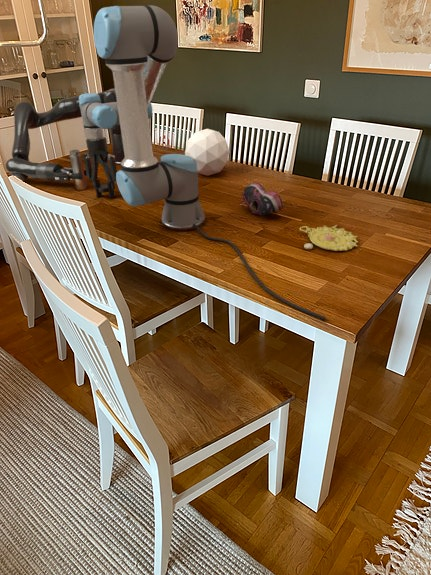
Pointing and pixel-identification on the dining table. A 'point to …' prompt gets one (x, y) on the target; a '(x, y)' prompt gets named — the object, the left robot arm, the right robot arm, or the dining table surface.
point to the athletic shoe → (261, 200)
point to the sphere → (208, 151)
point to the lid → (103, 188)
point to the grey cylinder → (78, 169)
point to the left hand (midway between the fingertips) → (84, 175)
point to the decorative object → (330, 238)
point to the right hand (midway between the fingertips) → (105, 196)
